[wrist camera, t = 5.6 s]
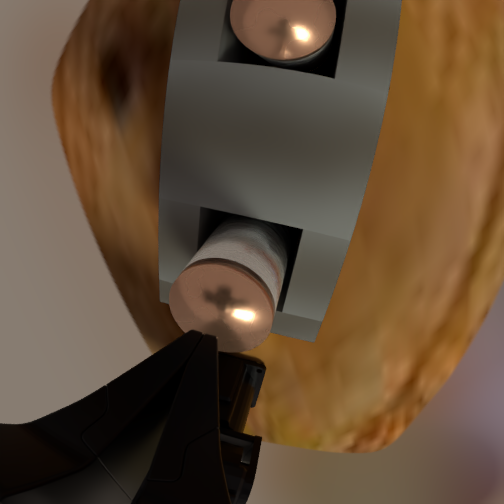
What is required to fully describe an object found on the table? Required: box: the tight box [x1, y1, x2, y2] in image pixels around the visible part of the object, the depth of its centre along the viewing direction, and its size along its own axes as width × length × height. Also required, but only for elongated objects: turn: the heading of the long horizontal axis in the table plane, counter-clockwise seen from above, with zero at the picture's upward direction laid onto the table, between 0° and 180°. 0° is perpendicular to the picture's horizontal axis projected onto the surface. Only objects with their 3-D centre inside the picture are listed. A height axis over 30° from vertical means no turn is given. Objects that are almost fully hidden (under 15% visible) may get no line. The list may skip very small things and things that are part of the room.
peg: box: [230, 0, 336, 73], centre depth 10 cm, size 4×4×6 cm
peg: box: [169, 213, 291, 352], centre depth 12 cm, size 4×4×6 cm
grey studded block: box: [158, 0, 402, 342], centre depth 13 cm, size 17×8×6 cm, turn 172°
